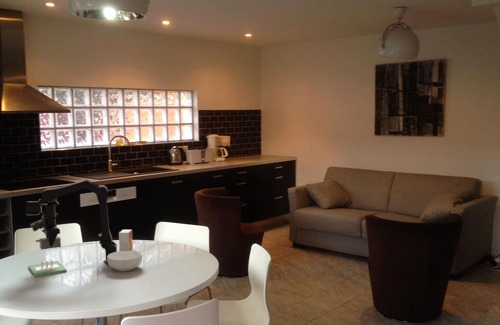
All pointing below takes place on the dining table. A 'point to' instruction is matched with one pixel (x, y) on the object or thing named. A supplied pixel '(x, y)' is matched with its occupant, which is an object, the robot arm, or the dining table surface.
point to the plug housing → (45, 243)
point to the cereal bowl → (124, 260)
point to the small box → (125, 240)
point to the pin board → (47, 268)
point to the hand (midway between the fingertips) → (50, 245)
